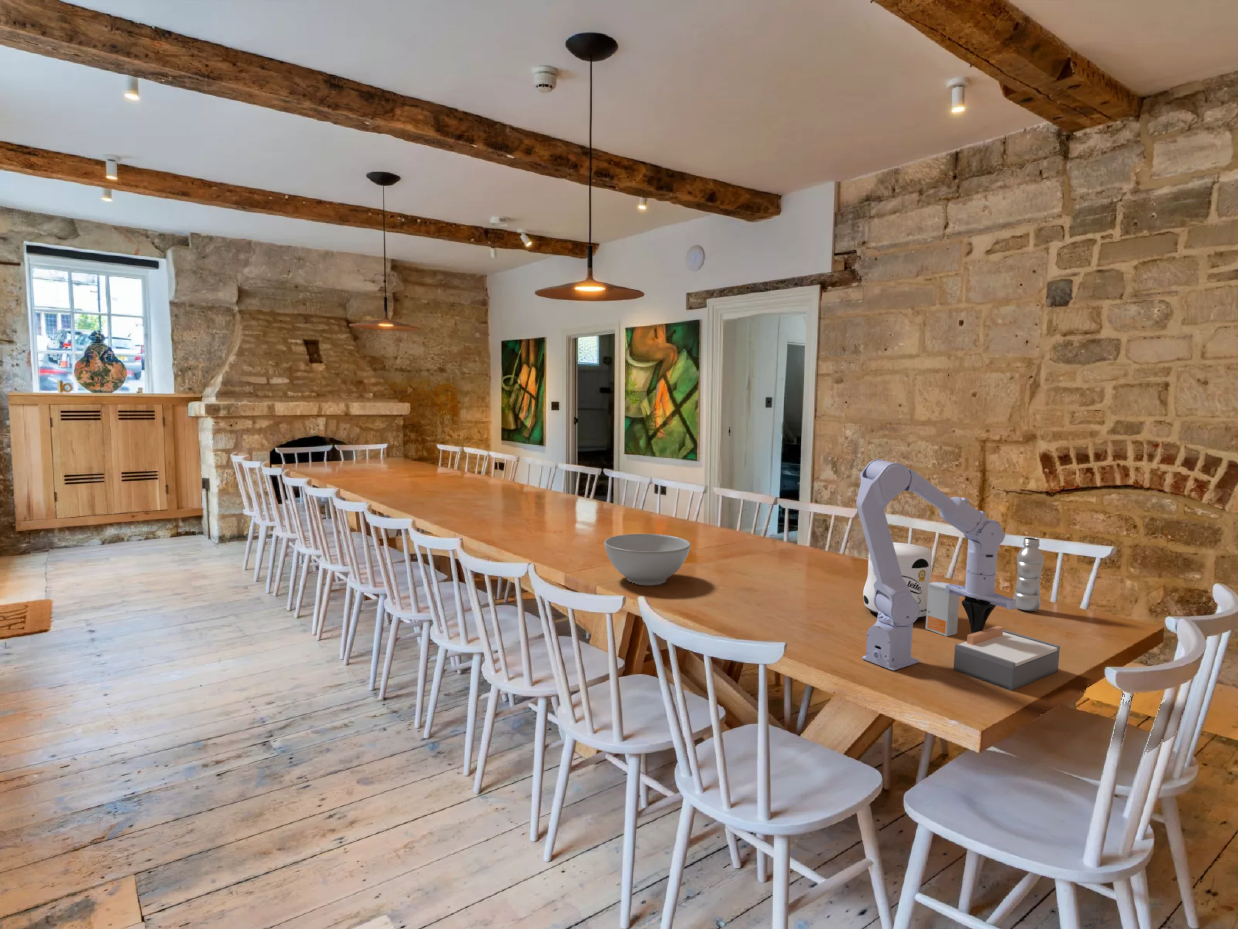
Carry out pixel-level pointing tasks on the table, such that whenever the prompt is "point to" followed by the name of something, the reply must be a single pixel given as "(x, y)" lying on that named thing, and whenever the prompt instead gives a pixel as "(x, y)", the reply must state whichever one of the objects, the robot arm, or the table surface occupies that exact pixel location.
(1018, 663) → the lid
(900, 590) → the robot arm
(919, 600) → the milk container
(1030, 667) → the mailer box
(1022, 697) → the table surface
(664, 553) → the decorative bowl
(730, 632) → the table surface
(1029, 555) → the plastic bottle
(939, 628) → the skincare box
